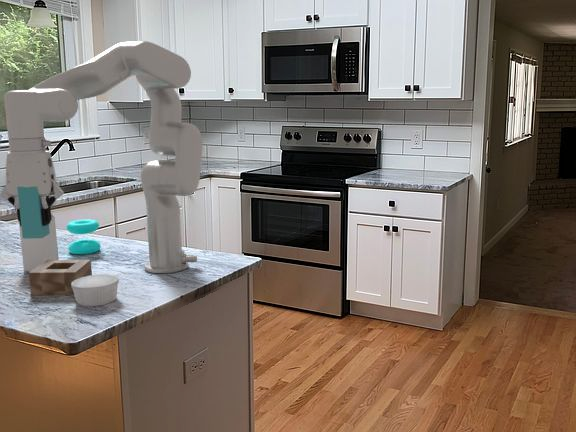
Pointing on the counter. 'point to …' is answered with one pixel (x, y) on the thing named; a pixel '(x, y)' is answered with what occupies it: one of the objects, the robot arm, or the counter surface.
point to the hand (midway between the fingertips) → (35, 223)
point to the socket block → (57, 276)
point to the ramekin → (95, 289)
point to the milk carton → (39, 248)
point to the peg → (31, 213)
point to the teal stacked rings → (84, 244)
